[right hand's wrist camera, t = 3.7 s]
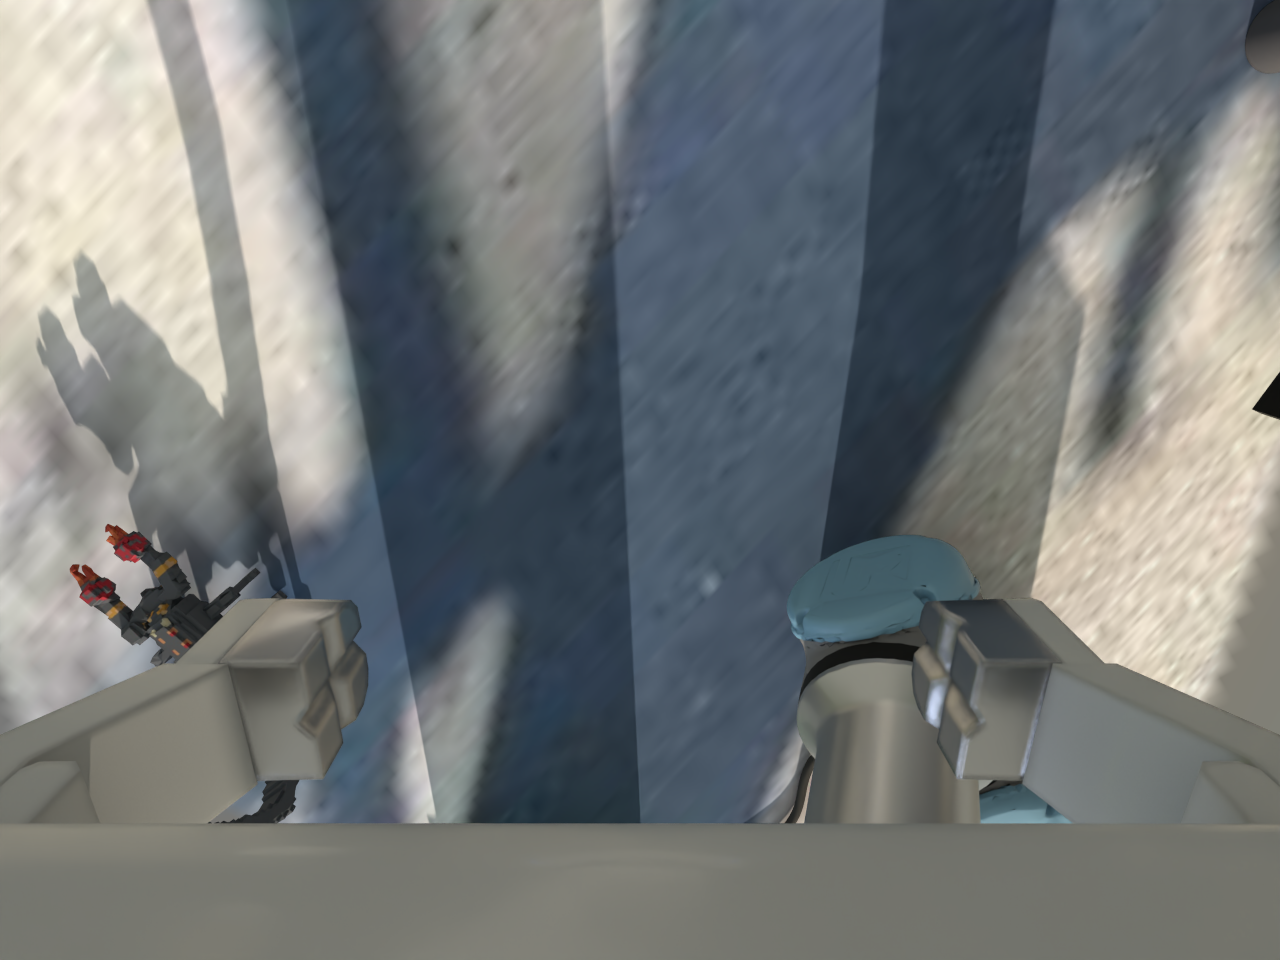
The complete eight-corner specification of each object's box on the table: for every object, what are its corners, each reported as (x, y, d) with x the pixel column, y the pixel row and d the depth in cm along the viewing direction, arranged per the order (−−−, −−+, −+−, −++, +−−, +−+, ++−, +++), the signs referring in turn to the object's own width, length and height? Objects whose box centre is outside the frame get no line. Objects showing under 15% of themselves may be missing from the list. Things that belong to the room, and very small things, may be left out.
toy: (293, 753, 72) (185, 925, 54) (67, 569, 64) (-142, 703, 47) (386, 684, 68) (302, 845, 51) (160, 483, 61) (-26, 593, 44)
